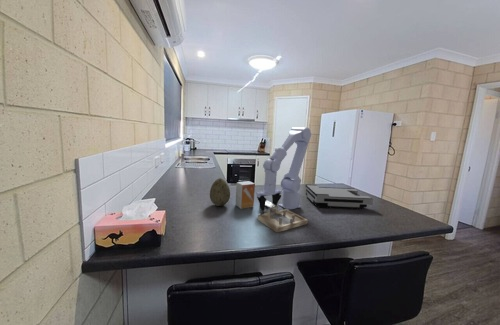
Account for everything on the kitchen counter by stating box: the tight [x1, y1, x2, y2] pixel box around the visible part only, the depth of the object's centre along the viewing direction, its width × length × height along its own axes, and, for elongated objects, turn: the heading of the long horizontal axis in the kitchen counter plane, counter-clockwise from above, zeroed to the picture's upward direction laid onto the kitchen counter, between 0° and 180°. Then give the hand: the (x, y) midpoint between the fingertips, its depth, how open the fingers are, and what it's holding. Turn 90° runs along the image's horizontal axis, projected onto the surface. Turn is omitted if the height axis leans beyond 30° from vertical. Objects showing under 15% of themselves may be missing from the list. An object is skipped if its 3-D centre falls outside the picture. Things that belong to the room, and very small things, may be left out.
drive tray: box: [257, 208, 308, 233], centre depth 95 cm, size 18×14×4 cm
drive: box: [258, 199, 279, 214], centre depth 106 cm, size 5×9×5 cm, turn 32°
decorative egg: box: [209, 177, 231, 207], centre depth 109 cm, size 11×11×15 cm
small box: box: [235, 180, 256, 210], centre depth 111 cm, size 8×6×13 cm
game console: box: [304, 184, 374, 211], centre depth 125 cm, size 21×32×8 cm, turn 92°
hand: (268, 208), depth 106 cm, fingers open, 7 cm apart
